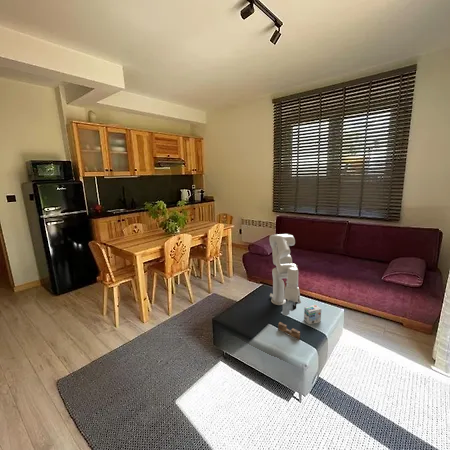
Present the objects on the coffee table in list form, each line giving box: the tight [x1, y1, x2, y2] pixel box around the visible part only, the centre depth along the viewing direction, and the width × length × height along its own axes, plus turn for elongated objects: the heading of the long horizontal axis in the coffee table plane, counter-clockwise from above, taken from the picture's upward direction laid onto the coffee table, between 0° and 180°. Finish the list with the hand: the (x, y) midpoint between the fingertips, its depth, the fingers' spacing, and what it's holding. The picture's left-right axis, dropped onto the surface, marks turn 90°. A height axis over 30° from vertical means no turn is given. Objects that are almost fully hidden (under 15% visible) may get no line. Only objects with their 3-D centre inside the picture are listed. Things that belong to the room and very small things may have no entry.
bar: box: [281, 300, 294, 317], centre depth 166 cm, size 3×12×7 cm, turn 135°
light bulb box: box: [303, 304, 322, 325], centre depth 179 cm, size 11×7×11 cm, turn 105°
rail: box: [277, 321, 301, 341], centre depth 167 cm, size 16×2×5 cm, turn 44°
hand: (292, 308), depth 169 cm, fingers closed on bar, 3 cm apart
